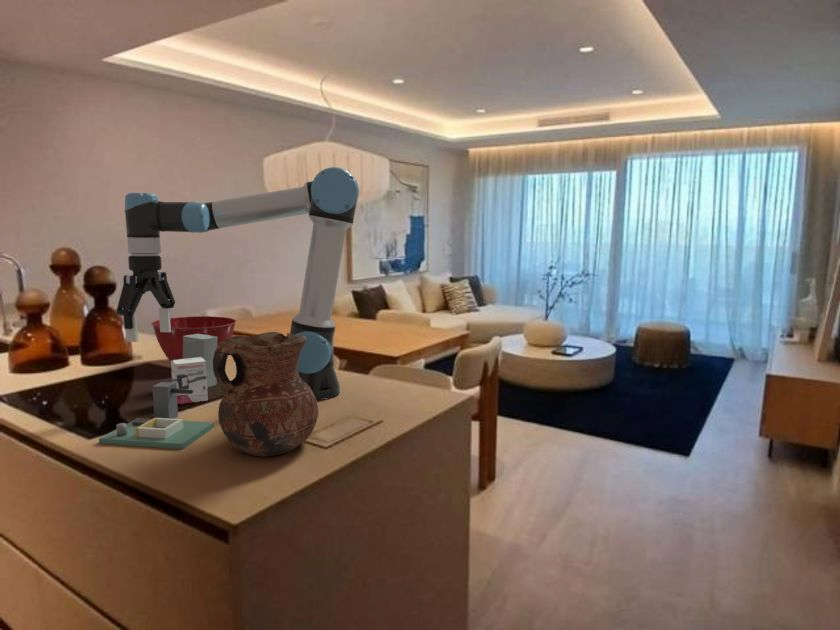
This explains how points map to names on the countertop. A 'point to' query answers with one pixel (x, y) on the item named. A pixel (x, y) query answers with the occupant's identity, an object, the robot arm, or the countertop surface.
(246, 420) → the jug
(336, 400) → the countertop surface
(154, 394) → the grey handled block
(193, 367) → the ink box
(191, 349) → the skincare box
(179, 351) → the mixing bowl
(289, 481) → the countertop surface
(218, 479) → the countertop surface
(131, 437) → the board
